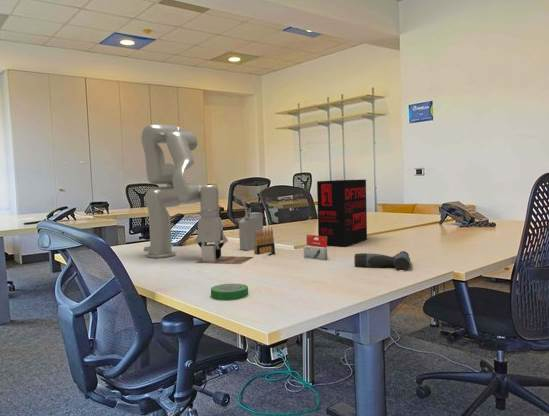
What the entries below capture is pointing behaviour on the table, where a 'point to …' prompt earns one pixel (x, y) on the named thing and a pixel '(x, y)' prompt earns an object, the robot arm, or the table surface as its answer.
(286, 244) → the table surface
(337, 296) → the table surface
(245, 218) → the fuel canister
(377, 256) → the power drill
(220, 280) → the table surface
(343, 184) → the product box
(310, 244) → the ink cartridge box
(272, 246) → the ammunition clip
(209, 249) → the grey block
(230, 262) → the board
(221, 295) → the tape roll
